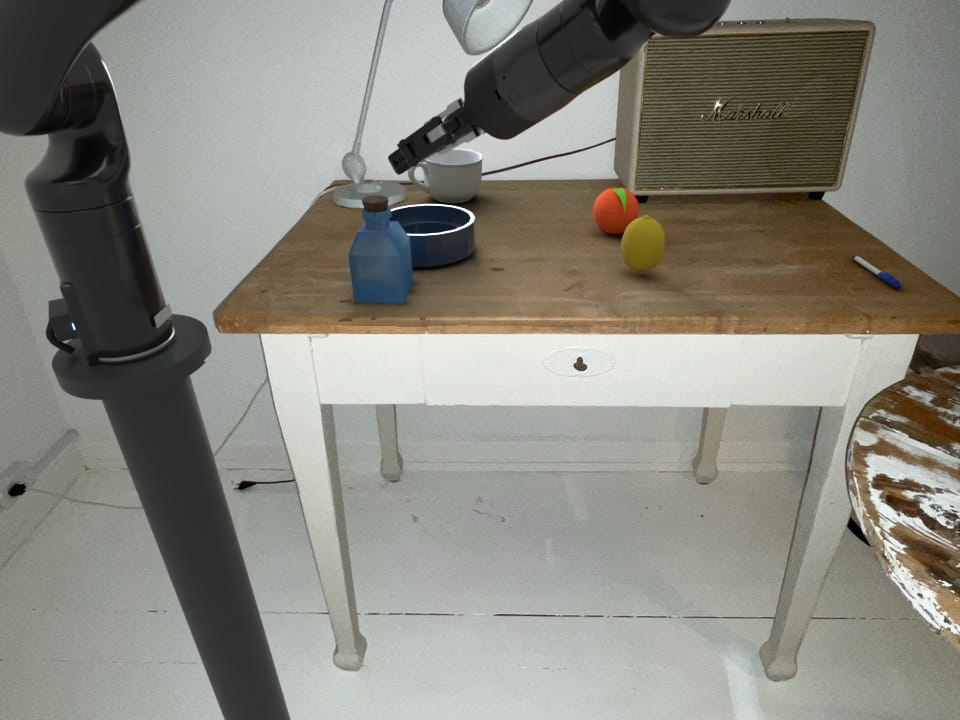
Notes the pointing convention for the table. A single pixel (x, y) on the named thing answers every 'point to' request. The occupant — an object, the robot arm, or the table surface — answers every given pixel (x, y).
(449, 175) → the teacup
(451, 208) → the bowl
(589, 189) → the table surface
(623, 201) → the clementine
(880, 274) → the blue and white marker
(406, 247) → the perfume bottle
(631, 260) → the lemon
